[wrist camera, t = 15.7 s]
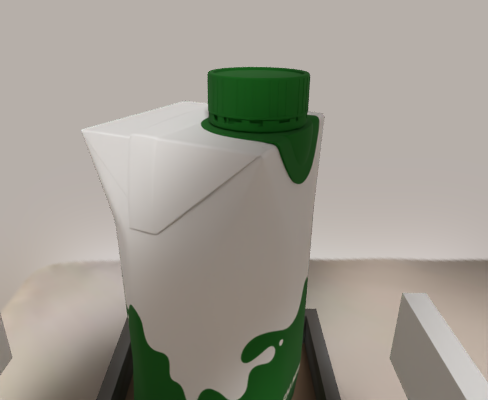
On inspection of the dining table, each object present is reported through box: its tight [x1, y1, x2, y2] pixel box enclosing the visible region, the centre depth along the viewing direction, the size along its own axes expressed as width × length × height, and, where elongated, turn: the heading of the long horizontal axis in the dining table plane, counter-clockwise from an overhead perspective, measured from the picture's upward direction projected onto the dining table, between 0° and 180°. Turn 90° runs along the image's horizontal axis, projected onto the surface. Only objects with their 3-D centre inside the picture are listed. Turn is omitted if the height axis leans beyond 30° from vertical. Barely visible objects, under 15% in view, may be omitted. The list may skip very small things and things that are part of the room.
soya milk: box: [81, 67, 325, 400], centre depth 21 cm, size 9×9×20 cm
